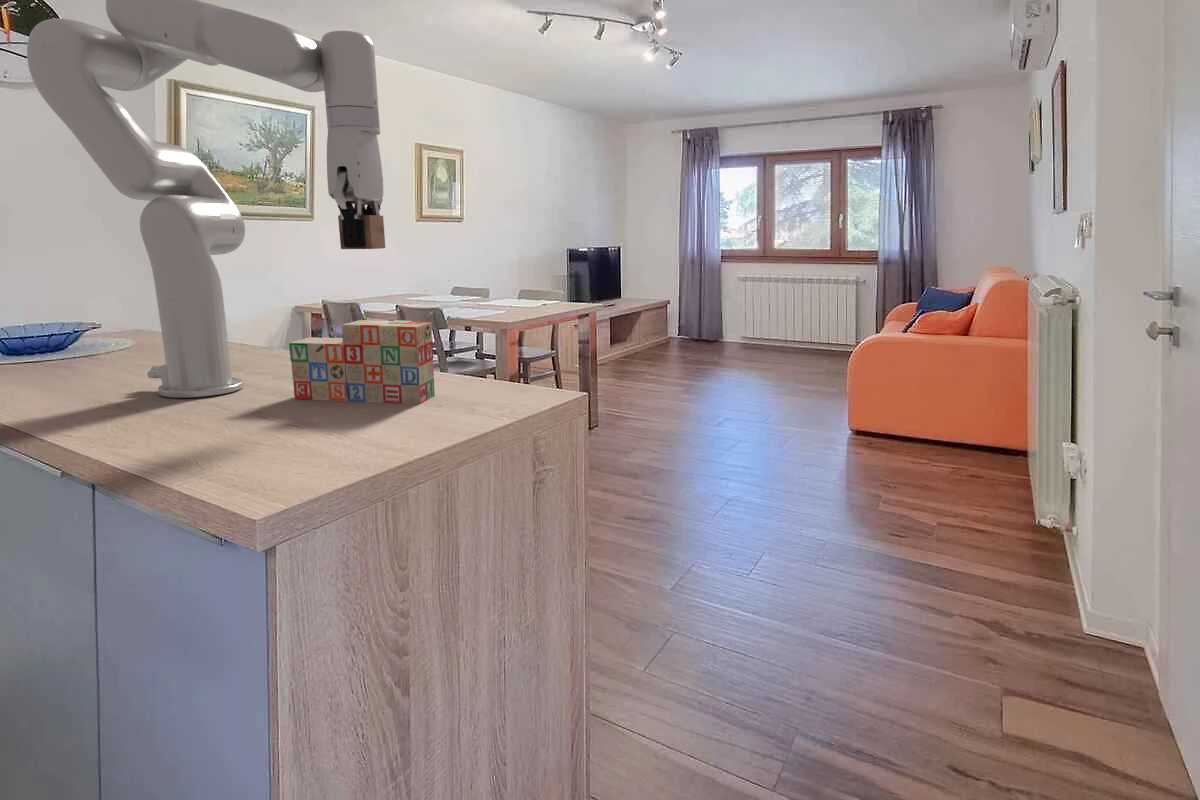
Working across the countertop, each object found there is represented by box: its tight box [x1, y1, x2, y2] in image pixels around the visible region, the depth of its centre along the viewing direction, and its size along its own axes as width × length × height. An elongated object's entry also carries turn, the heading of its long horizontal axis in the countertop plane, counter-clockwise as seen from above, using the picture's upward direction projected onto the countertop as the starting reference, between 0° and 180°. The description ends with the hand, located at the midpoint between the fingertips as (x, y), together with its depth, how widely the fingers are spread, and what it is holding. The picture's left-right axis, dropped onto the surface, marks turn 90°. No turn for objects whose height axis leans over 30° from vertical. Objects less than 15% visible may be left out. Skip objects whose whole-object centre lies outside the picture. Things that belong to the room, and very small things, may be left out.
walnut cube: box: [337, 214, 386, 250], centre depth 116 cm, size 5×5×5 cm
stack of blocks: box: [288, 319, 436, 405], centre depth 119 cm, size 21×6×12 cm, turn 81°
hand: (362, 245), depth 116 cm, fingers closed on walnut cube, 5 cm apart
